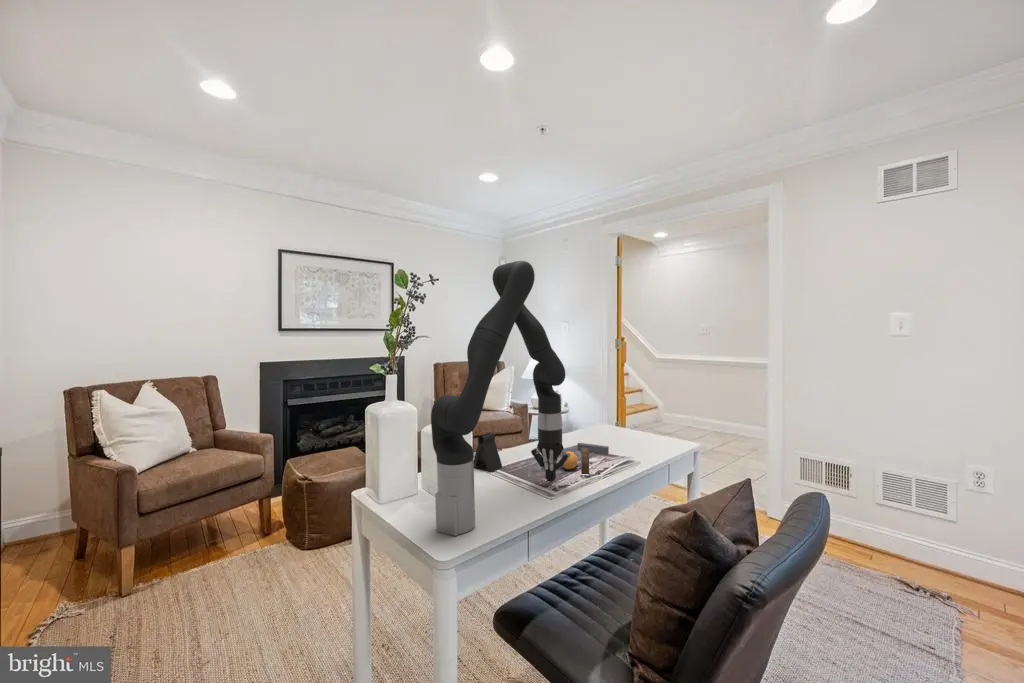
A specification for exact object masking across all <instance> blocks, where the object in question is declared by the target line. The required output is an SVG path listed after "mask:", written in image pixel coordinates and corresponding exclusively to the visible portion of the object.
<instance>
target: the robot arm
mask: <svg viewBox="0 0 1024 683" xmlns="http://www.w3.org/2000/svg"><path fill="white" fill-rule="evenodd" d="M535 276H536V275H535V269H534V267H533V265H532V264H531V263H529V262H528V261H526V260H516V261H515V260H514V261H513V262H508V263H504V264H500V265H498V266H497V267H496V268H494V270H493V273H492V284H493V287H494V289H495V292H496V293H497V295H498V296H499V299H498V300H497V302H496V303H495V304H494V305H493V306H492V307H491V308H490V310H488V311H487V313H485V315H483V316H482V318H481V319H480V320H479V322H478V323H477V325H476V326H475V329H474V330H473V333H472V334H471V337H470V340H469V342H468V345H467V350H466V353H467V354H466V355H467V366H468V372H467V378H466V381H465V385H464V386H463V389H462V391H461V393H460V395H459V396H458V395H453V394H452V395H451V394H444V395H441V396H438V398H436V400H435V402H434V403H433V404H432V408H431V412H430V413H431V414H430V426H431V435H432V436H431V438H432V447H433V450H434V453H435V455H436V479H437V480H436V481H437V492H436V493H435V495H434V497H435V498H434V499H435V500H434V501H435V531H436V532H439V533H442V534H443V533H444V534H447V535H450V536H453V537H457V536H459V535H463V534H466V533H468V532H471V531H472V530H473V529H474V528H475V527H476V505H475V504H476V502H475V500H476V499H475V497H476V496H475V469H474V458H475V455H474V448H473V446H472V445H471V444H470V443H469V442H468V441H467V440H466V439H465V437H464V436H467V435H469V434H471V433H472V432H473V431H474V430H475V428H476V426H477V425H478V422H479V420H480V418H481V415H482V411H483V408H484V404H485V401H486V399H487V398H486V397H487V394H488V391H489V387H490V384H491V383H492V380H493V377H494V374H495V372H496V369H497V366H498V363H499V362H500V359H501V358H502V355H503V353H504V350H505V348H506V344H507V342H508V339H509V338H510V337H509V336H510V334H511V332H512V330H513V327H514V325H516V327H517V329H518V331H519V333H520V335H521V337H522V340H523V342H524V345H525V347H526V350H527V353H528V356H529V357H530V358H531V359H533V360H534V361H536V362H537V363H536V364H535V366H534V368H533V371H532V380H533V384H534V388H535V393H536V395H537V399H538V402H537V410H538V412H537V441H538V443H537V447H535V448H533V449H532V450H531V451H530V453H531V455H532V456H533V458H534V460H535V461H536V462H537V464H538V466H539V467H540V468H544V470H545V480H546V482H548V483H553V482H554V481H555V480H556V476H557V472H556V471H557V470H559V469H560V468H563V466H562V465H563V464H564V463H565V462H566V460H567V459H568V458H569V457H570V453H566V452H567V451H565V449H564V445H563V416H562V398H561V395H560V394H559V393H558V392H557V391H555V390H554V387H557V386H561V385H562V384H563V383H564V381H565V379H566V369H565V366H564V364H563V361H561V359H560V357H559V356H558V355H557V353H556V352H555V350H554V349H553V347H552V346H551V343H550V341H549V337H548V335H547V333H546V329H545V328H544V326H543V325H542V323H541V322H540V321H539V320H538V319H537V318H536V316H535V315H534V314H533V313H532V312H531V311H530V310H529V308H527V306H526V304H525V302H526V300H527V299H528V296H529V295H530V293H531V291H532V289H533V286H534V284H535V283H534V282H535V278H536V277H535ZM559 456H560V458H562V459H561V460H560V459H559V460H558V458H559ZM558 461H559V462H558ZM557 462H558V464H557Z"/></svg>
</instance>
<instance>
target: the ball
mask: <svg viewBox="0 0 1024 683" xmlns="http://www.w3.org/2000/svg"><path fill="white" fill-rule="evenodd" d="M565 452H566V453H570V457H569V458H568V459H567V460H566V462H565V463H564V464H563V465H562V468H563V469H566V470H573V469H575V468H576V465H577V462H578V459H577V456H576V455H575V454H574V453H575V452H574V453H573V451H565ZM561 459H562V458H561V457H560V458H559V461H560V460H561Z"/></svg>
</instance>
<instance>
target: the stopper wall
mask: <svg viewBox="0 0 1024 683" xmlns="http://www.w3.org/2000/svg"><path fill="white" fill-rule="evenodd" d="M576 448H577V451H580V450H581V448H589V451H591V452H590V453H594V452H598V453H597V454H601V453H603V455H608V454H609V446H608V445H599V444H593V443H585V442H577V447H576Z"/></svg>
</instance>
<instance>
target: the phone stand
mask: <svg viewBox="0 0 1024 683" xmlns="http://www.w3.org/2000/svg"><path fill="white" fill-rule="evenodd" d="M501 460H502V459H501V458H500V454H499V450H498V447H497V443H496V435H495V433H494V432H487V433H485V434H483V435H480V436H478V438H477V448H476V451H475V455H474V470H480V471H483V472H488V473H491V472H492V473H493V471H494V472H495V470H496V471H498V470H500V469H502V468H503V464H502V461H501ZM497 469H498V470H497Z"/></svg>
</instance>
